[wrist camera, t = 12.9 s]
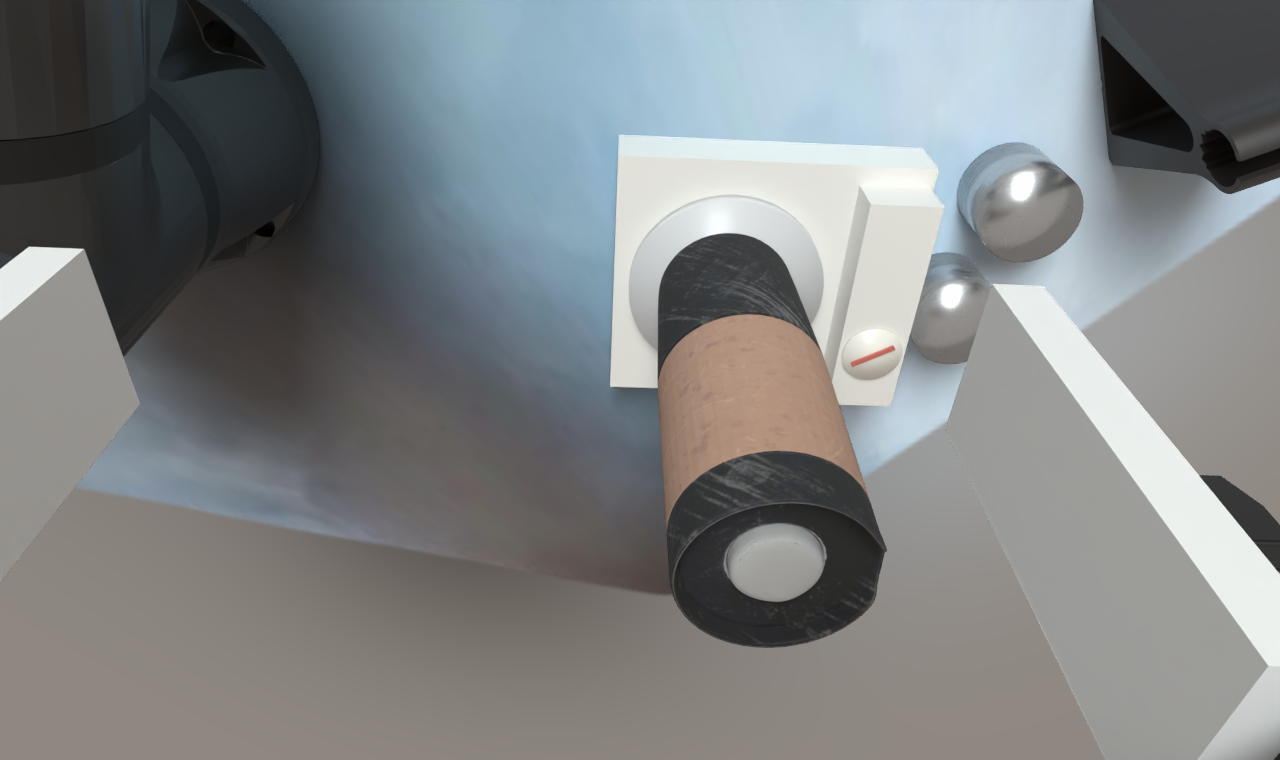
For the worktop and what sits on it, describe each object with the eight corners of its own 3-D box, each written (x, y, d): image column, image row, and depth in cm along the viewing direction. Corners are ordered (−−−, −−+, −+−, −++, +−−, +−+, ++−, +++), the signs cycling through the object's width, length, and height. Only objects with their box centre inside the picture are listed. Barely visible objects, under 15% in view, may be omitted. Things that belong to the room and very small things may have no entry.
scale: (611, 358, 52) (609, 415, 48) (619, 134, 44) (617, 176, 40) (868, 367, 53) (891, 424, 48) (922, 148, 45) (956, 191, 40)
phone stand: (1228, 119, 44) (1399, 216, 34) (1108, 162, 45) (1240, 266, 36) (1226, -59, 39) (1425, -6, 30) (1092, -6, 41) (1240, 61, 31)
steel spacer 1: (886, 325, 51) (903, 362, 48) (905, 250, 48) (925, 284, 45) (967, 328, 51) (990, 365, 48) (991, 253, 49) (1017, 288, 45)
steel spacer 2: (946, 227, 48) (969, 260, 44) (971, 140, 45) (997, 168, 41) (1034, 231, 48) (1063, 264, 44) (1064, 144, 45) (1098, 172, 42)
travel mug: (623, 293, 45) (620, 581, 29) (731, 197, 42) (795, 459, 26) (719, 375, 48) (764, 678, 32) (825, 292, 45) (936, 579, 29)
